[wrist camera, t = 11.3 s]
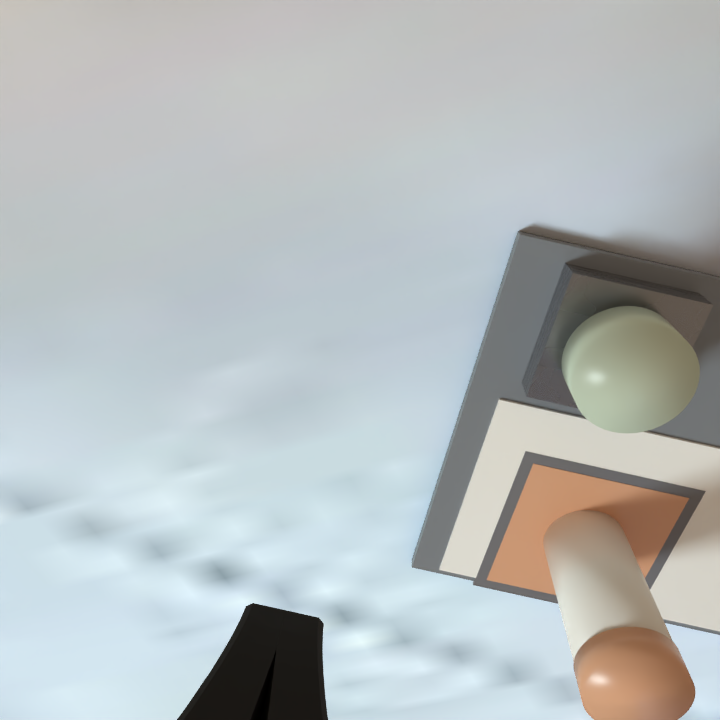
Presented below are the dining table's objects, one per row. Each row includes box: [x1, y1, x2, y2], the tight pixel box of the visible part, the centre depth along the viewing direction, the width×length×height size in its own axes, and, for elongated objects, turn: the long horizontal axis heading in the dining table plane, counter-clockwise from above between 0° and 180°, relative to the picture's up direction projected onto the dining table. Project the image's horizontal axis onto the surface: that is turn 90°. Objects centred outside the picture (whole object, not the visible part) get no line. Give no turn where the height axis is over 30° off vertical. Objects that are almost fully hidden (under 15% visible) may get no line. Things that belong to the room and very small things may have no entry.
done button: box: [562, 306, 700, 434], centre depth 17 cm, size 3×3×3 cm
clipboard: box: [412, 231, 720, 635], centre depth 21 cm, size 15×13×1 cm
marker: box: [543, 510, 695, 720], centre depth 19 cm, size 3×3×6 cm
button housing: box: [522, 263, 713, 408], centre depth 18 cm, size 4×4×1 cm
